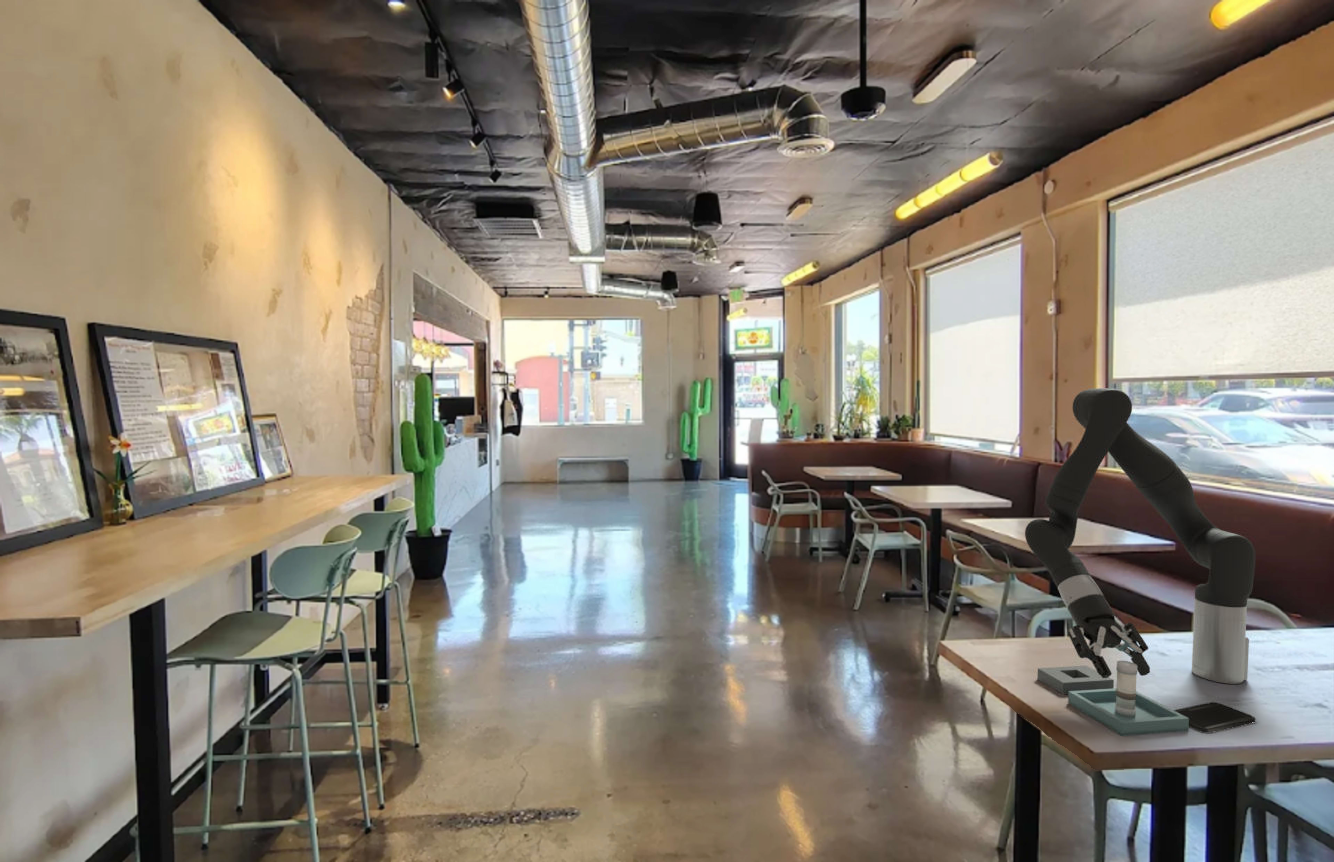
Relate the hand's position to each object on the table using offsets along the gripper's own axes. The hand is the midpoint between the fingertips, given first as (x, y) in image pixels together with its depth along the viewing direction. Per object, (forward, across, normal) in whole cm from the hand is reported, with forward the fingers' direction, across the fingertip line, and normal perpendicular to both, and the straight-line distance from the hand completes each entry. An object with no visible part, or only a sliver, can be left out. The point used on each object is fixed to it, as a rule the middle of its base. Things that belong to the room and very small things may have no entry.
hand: (1126, 675), depth 135 cm
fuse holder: (-5, +1, +16) cm, 17 cm away
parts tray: (+6, 0, +6) cm, 8 cm away
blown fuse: (+6, 0, +5) cm, 8 cm away
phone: (+9, +16, +4) cm, 18 cm away
